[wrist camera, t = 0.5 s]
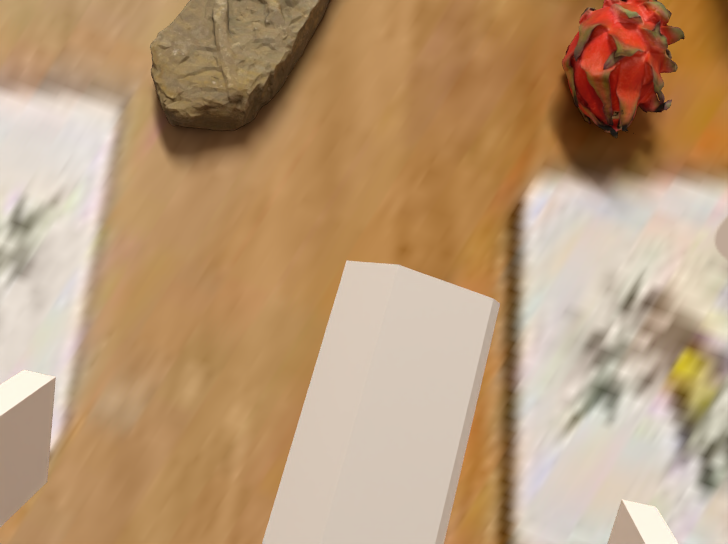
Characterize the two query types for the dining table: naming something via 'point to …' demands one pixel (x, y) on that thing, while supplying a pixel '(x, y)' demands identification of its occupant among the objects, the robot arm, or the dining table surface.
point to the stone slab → (229, 58)
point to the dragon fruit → (620, 61)
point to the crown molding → (385, 412)
